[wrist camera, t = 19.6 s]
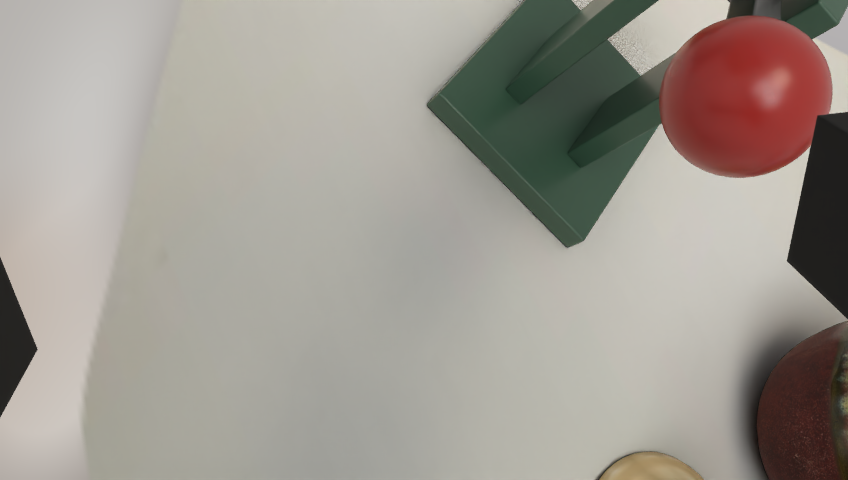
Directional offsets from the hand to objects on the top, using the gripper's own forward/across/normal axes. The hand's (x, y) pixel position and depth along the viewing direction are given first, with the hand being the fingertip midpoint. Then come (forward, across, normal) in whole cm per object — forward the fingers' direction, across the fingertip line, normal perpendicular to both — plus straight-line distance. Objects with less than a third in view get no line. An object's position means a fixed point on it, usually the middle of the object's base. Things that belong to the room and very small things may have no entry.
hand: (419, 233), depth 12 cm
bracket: (+22, +8, -7) cm, 25 cm away
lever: (+10, +9, -1) cm, 14 cm away
